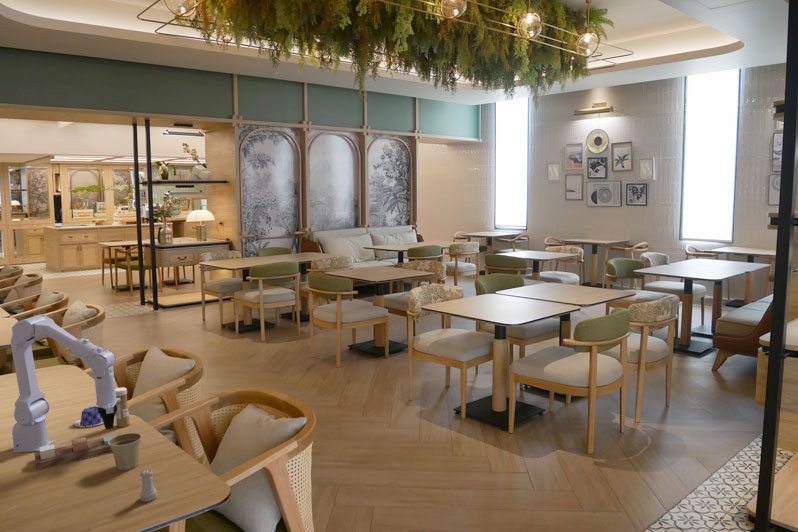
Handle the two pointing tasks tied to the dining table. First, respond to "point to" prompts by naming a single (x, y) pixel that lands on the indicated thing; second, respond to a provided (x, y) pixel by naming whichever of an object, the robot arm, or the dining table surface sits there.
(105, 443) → the blue key
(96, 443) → the board
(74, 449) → the brick key
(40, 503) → the dining table surface
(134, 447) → the flower pot
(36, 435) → the robot arm
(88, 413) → the purple domed brimmed piece
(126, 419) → the sprinkles bottle
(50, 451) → the white key
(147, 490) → the rook chess piece
